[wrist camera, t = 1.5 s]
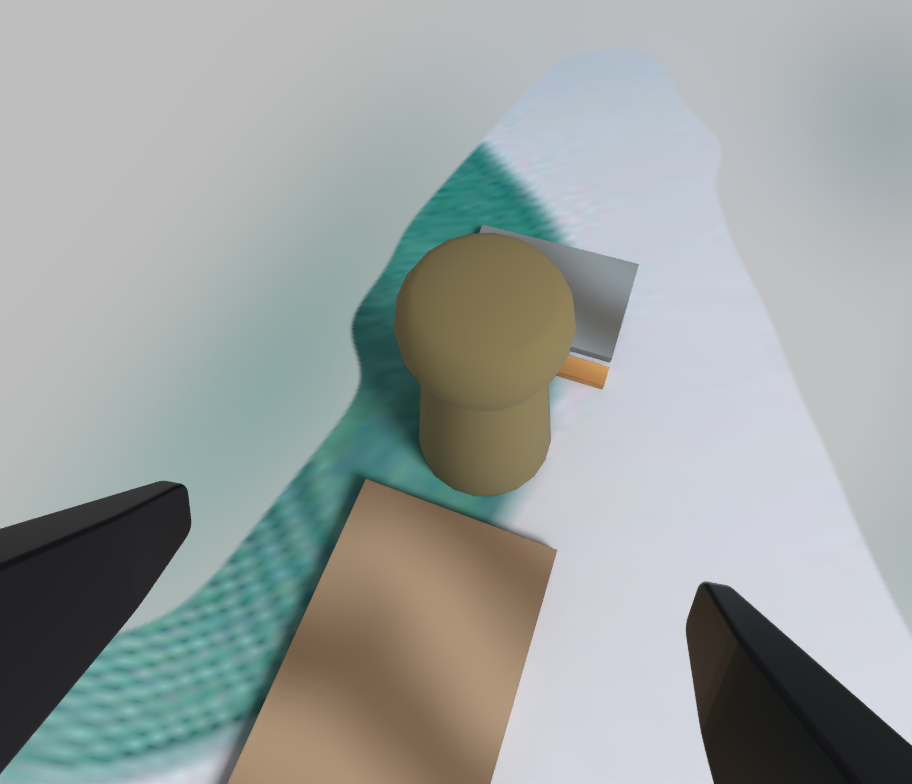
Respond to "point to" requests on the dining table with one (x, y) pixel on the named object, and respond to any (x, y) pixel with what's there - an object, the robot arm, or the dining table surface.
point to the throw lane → (422, 615)
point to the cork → (484, 357)
